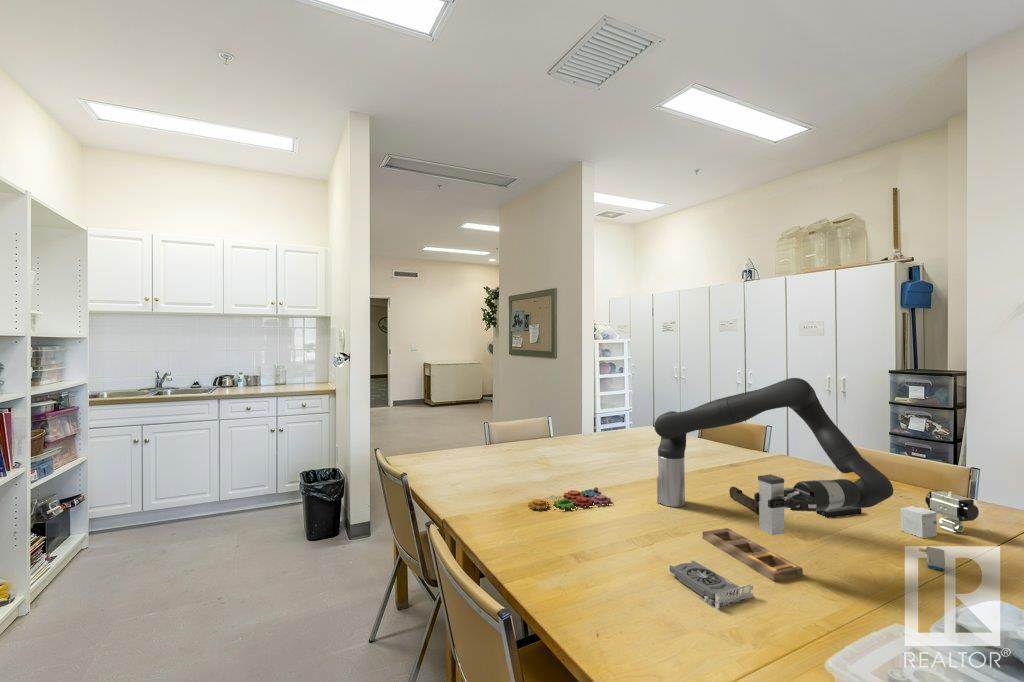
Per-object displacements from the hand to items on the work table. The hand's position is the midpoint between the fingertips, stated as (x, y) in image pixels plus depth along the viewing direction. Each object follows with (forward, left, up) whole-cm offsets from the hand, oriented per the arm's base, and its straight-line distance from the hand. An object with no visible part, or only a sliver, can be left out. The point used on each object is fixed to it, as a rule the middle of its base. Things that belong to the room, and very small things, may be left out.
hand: (762, 500), depth 118 cm
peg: (+2, +2, -8) cm, 9 cm away
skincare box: (+41, +47, -18) cm, 66 cm away
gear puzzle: (-64, +23, -19) cm, 70 cm away
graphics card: (-11, -15, -19) cm, 27 cm away
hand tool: (-6, +50, -19) cm, 54 cm away
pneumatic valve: (+50, +54, -18) cm, 76 cm away
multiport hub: (+22, +56, -19) cm, 63 cm away
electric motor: (+38, +22, -18) cm, 48 cm away
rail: (-4, +7, -18) cm, 20 cm away
